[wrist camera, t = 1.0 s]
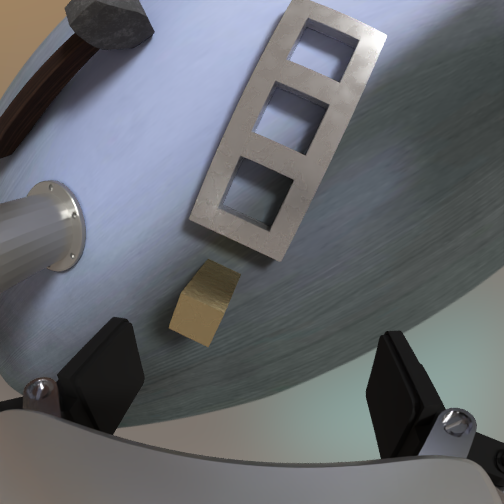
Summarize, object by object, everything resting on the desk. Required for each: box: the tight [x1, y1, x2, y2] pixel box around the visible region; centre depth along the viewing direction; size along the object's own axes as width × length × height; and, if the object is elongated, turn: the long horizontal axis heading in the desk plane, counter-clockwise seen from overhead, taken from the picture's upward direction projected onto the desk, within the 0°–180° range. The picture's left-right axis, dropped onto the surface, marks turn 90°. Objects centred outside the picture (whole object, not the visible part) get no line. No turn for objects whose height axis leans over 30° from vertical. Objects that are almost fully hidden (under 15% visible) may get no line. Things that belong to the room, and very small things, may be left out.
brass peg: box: [169, 259, 241, 347], centre depth 30 cm, size 4×4×9 cm
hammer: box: [0, 0, 154, 158], centre depth 25 cm, size 5×11×30 cm
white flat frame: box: [189, 0, 387, 262], centre depth 27 cm, size 26×10×2 cm, turn 156°
